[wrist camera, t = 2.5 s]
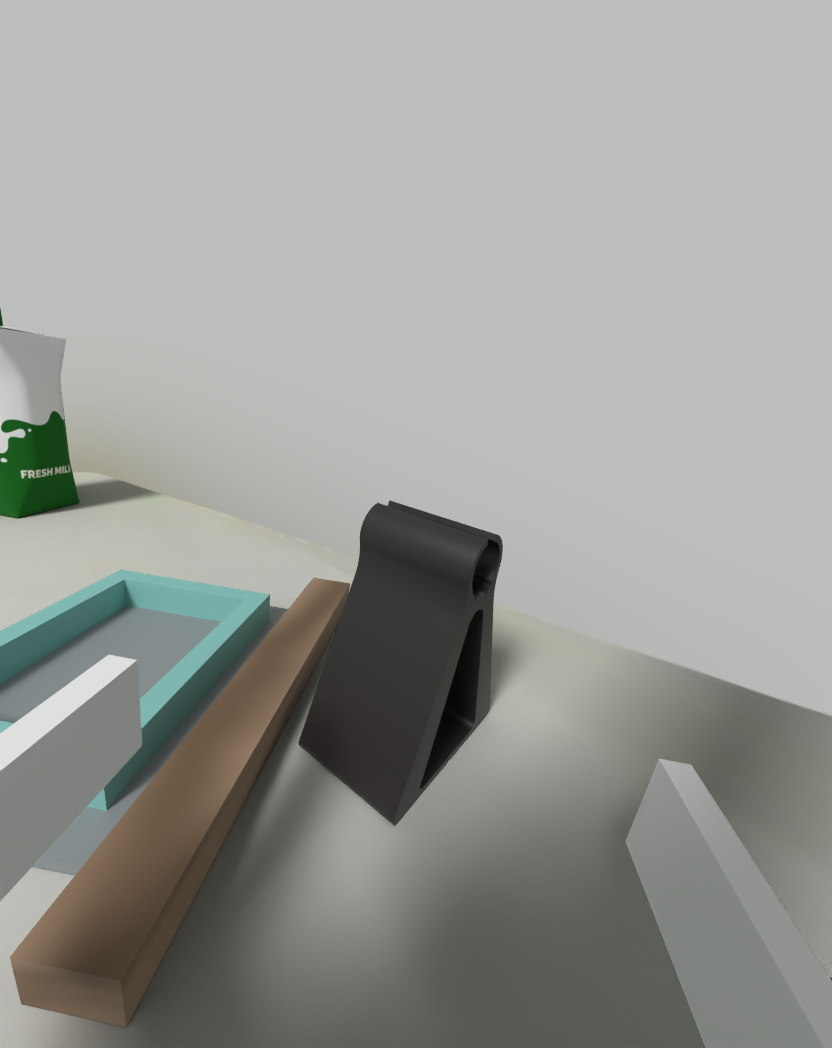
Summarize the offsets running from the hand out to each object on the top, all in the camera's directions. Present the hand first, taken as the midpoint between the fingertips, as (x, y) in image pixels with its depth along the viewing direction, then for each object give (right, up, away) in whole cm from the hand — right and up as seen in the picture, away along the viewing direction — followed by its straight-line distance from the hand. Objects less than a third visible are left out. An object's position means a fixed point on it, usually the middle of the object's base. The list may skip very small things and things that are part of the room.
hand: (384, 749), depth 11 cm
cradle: (-16, -3, +13) cm, 20 cm away
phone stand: (0, -6, +12) cm, 13 cm away
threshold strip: (-7, -4, +12) cm, 15 cm away
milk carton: (-42, +8, +35) cm, 56 cm away
